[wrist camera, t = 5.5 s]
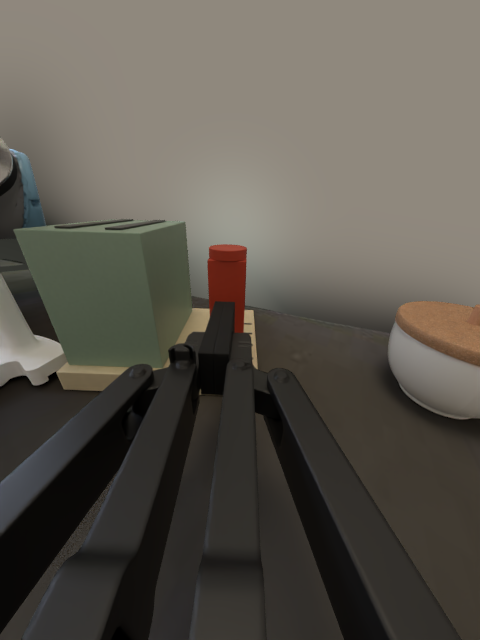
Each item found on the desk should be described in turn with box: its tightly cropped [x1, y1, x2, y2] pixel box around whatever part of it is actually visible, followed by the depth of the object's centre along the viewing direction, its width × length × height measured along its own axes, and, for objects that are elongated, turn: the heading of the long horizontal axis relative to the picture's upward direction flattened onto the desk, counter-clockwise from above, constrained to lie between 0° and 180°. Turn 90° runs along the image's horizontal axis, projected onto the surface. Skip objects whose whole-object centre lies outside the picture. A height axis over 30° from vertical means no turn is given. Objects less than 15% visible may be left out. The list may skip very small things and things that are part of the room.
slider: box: [208, 245, 247, 333], centre depth 20 cm, size 3×3×11 cm
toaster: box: [13, 219, 258, 395], centre depth 25 cm, size 16×18×14 cm
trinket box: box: [388, 301, 480, 419], centre depth 20 cm, size 11×11×9 cm
